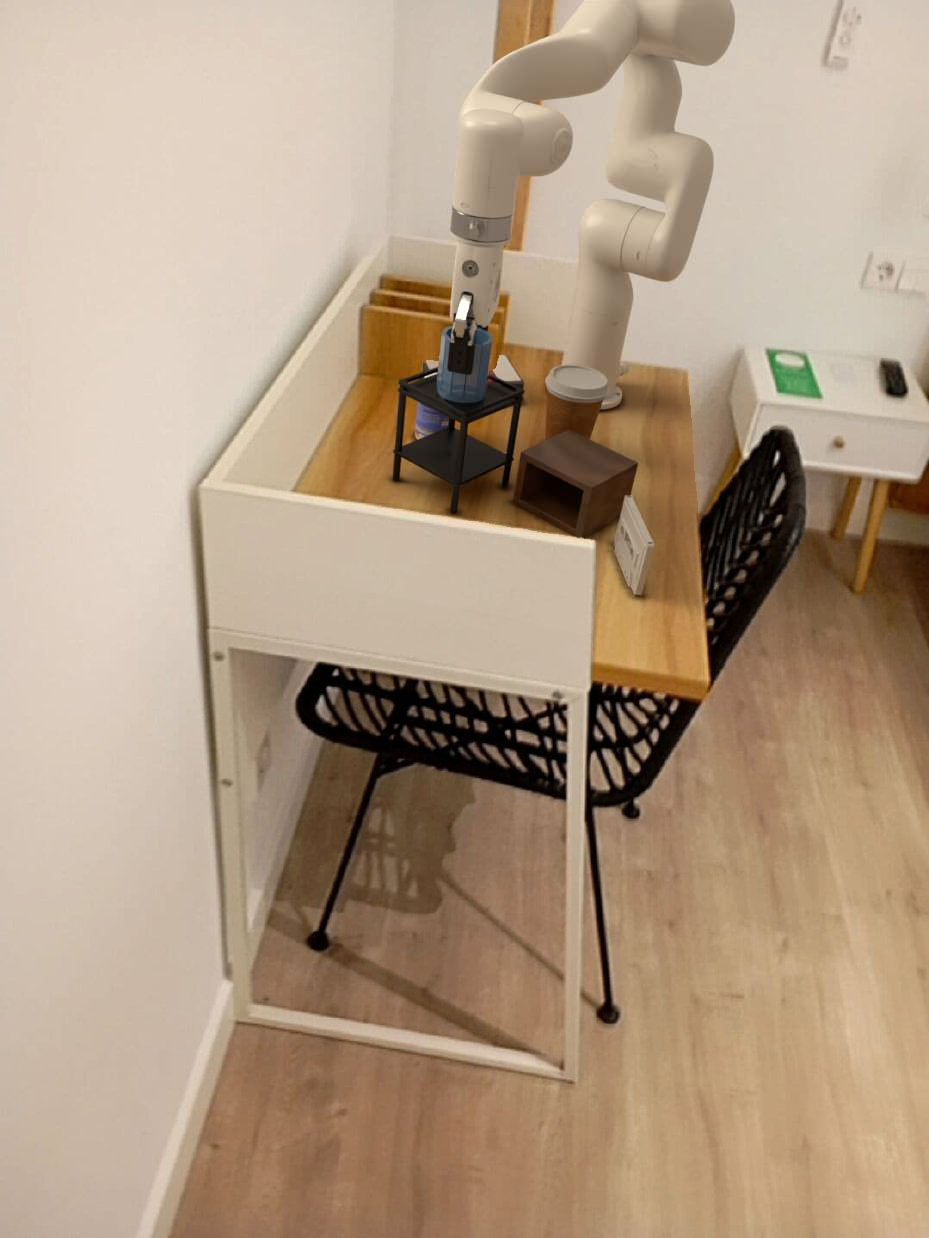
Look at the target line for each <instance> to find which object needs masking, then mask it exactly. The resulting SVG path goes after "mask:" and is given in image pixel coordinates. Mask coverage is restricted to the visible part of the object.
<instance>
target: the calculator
mask: <svg viewBox="0 0 929 1238" xmlns="http://www.w3.org/2000/svg"><path fill="white" fill-rule="evenodd" d="M498 355H499V358H498V361H497V366H496V368H495V369H493V372H492V371H491V370H490V371H489V374H491V375H493V376H495V377H497V378H499V379H501V380H504V381H506V382H508V383H510V384H512V385H514V386H517V387H519V388H521V389H523V390H525V388H524V387H525V382H524V380H523V379H522V377H521V376H520V374H519V372H518V371H517V370H516V368H515V366H514V364H513V363H512V362H511V359H510V358H509V357H508V356H507V355H505V354H498ZM438 365H439V361H434V360H426V363H423V372H425V371H427V370H430V369H433V368H436V367H438ZM420 373H422V372H421V371H420ZM436 373H438V372H436ZM421 379H424V377H422V378H421ZM488 381H490V382H492V383H494V384H497V385H499V386H501V387H503V388H505V389H507V390H509V391H511V392H516V391H514V390H512V389H509V388H507V387H505V386H503V385H501V384H499V383H497V382H495V381H492V380H490V379H488ZM522 397H523V398H524V395H523V396H522Z"/></svg>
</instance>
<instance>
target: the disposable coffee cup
mask: <svg viewBox="0 0 929 1238" xmlns="http://www.w3.org/2000/svg"><path fill="white" fill-rule="evenodd" d="M544 383H545V385H546V387H545V388H546V389H547V390H546V391H547V392H546V409H545V410H546V411H545V414H546V415H545V436H544V441H545V440H548V439H550V438H552V437H554V436H556V435H558V434H560V433H562V432H565V431H567V430H571V431H573V432H575V433H577V434H579V435H582V436H584V437H586V438H588V439H590V440H591V438H592V437H591V436H592V435H593V434H592V433H593V432H594V429H595V426H596V422H597V419H598V417H599V414H600V411H601V410H600V408H601V405H602V402H603V400H604V398H605V397H606V395H607V394H608V392H609V387H608V381H607V378H606V376H605V375H604V374H602V373H601V372H599V371H597V370H595V369H592V368H589V367H586V366H581V365H571V364H570V365H562V364H559V365H556V366H554V367H552V368H551V369H550V370H549V374H548V375H547V376H546V378H545V380H544Z"/></svg>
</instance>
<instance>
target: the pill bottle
mask: <svg viewBox="0 0 929 1238" xmlns="http://www.w3.org/2000/svg"><path fill="white" fill-rule="evenodd" d="M435 374H438V373H433V374H431V375H428V376H425V377H424V378H426V377H429V376H432V375H435ZM448 422H449V417H447V416H445V415H443V414H441V413H439V412H438V411H436V410H434V409H432V408H430V407H428V406H426V405H424V404H422V403H420V402H418V401H417V407H416V420H415V429H414V436H415V438H416V440H418V439H420V438H423V437H425V436H428V435H430V434H433V433H435V432H437V431H440V430H442V429H445V428H447V427H448Z"/></svg>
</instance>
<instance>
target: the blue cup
mask: <svg viewBox="0 0 929 1238" xmlns="http://www.w3.org/2000/svg"><path fill="white" fill-rule="evenodd" d="M466 329H468V331H469V335H470V330H471V327H469V326H467V327H466ZM452 330H453V325H451V326H447V327H445V328H444V329H443V330H442V332H441V335H440V346H439V356H438V357H439V365H438V375H437V392H438V394H439V395H440V396H441V397H443V398H445V399H447V400H450V401H453V402H458V403H475V402H479V401H481V400H483V399H484V398H485V396H486V390H487V386H488V378H489V371H490V363H491V356H492V355H493V347H494V341H495V340H494V339H495V337H494V335H493V334H492V333H491V332H490V331H489V330H488V331H486V330H484V329H481V328H479V327H476V332H475V337H474V342H473V344H476V345H475V354H474V363H473V371H472V374H471V375H466V374H460V373H455V372H450V371H448V370H447V366H448V355H449V345H450V340H451V335H452Z"/></svg>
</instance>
